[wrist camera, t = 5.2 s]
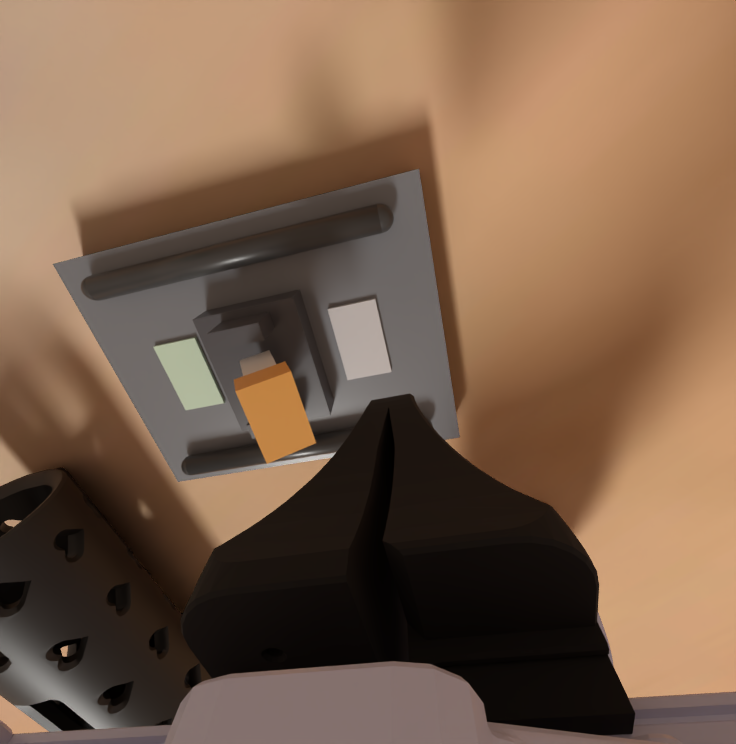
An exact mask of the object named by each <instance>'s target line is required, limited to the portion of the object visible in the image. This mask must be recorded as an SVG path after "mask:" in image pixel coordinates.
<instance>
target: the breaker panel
mask: <svg viewBox="0 0 736 744" xmlns="http://www.w3.org/2000/svg"><path fill="white" fill-rule="evenodd" d="M53 265H54V267H55V269H56V270H57V272H58V274H59V276H60V277H61V279H62V281H63V283H64V284H65V286H66V288H67V290H68V291H69V293H70V295H71V297H72V298H73V300H74V302H75V303H76V305H77V307H78V309H79V310H80V312H81V314H82V316H83V317H84V319H85V321H86V323H87V324H88V326H89V328H90V330H91V331H92V333H93V335H94V337H95V338H96V340H97V342H98V343H99V345H100V347H101V349H102V350H103V352H104V354H105V356H106V357H107V359H108V361H109V363H110V364H111V366H112V368H113V370H114V371H115V373H116V375H117V376H118V378H119V380H120V382H121V383H122V385H123V387H124V389H125V390H126V392H127V394H128V396H129V397H130V399H131V401H132V403H133V404H134V406H135V408H136V409H137V411H138V413H139V415H140V416H141V418H142V420H143V422H144V423H145V425H146V427H147V429H148V430H149V432H150V434H151V436H152V437H153V439H154V441H155V442H156V444H157V446H158V448H159V449H160V451H161V453H162V455H163V456H164V458H165V460H166V462H167V463H168V465H169V467H170V469H171V470H172V472H173V474H174V475H175V477H176V479H177V481H178V482H180V481H186V480H192V479H199V478H205V477H211V476H218V475H224V474H230V473H237V472H243V471H249V470H256V469H262V468H268V467H275V466H281V465H287V464H294V463H300V462H306V461H313V460H319V459H325V458H332V457H333V456H334V454H335V453H336V452H337V451H338V449H339V448H340V447H341V445H342V444H343V443H344V441H345V440H346V439H347V437H348V436H349V434H350V433H351V431H352V430H353V428H354V427H355V425H356V424H357V422H358V421H359V419H360V417H361V416H362V414H363V412H364V411H365V409H366V407H367V406H368V404H369V403H370V401H371V400H376V399H381V398H387V397H393V396H398V395H404V394H409V393H410V394H412V395H413V396H414V398H415V401H416V403H417V405H418V407H419V409H420V410H421V412H422V414H423V415H424V416H425V418H426V419H427V420H428V422H429V423H430V424H431V426H432V427H433V428H434V429H435V430H436V431H437V433H438V434H439V435H440V436H441V437H442V438H443V439H444V440H446V439H452V438H459V437H460V435H459V428H458V422H457V415H456V409H455V402H454V396H453V389H452V382H451V376H450V369H449V363H448V356H447V350H446V343H445V336H444V330H443V323H442V317H441V310H440V304H439V297H438V290H437V284H436V277H435V271H434V264H433V258H432V251H431V244H430V238H429V231H428V225H427V218H426V212H425V205H424V199H423V192H422V185H421V179H420V172H419V169H416V170H412V171H409V172H405V173H401V174H397V175H393V176H389V177H385V178H382V179H378V180H374V181H370V182H366V183H362V184H359V185H355V186H351V187H347V188H343V189H339V190H336V191H332V192H328V193H324V194H320V195H316V196H312V197H309V198H305V199H301V200H297V201H293V202H289V203H286V204H282V205H278V206H274V207H270V208H266V209H263V210H259V211H255V212H251V213H247V214H243V215H239V216H236V217H232V218H228V219H224V220H220V221H216V222H213V223H209V224H205V225H201V226H197V227H193V228H190V229H186V230H182V231H178V232H174V233H170V234H166V235H163V236H159V237H155V238H151V239H147V240H143V241H140V242H136V243H132V244H128V245H124V246H120V247H117V248H113V249H109V250H105V251H101V252H97V253H93V254H90V255H86V256H82V257H78V258H74V259H70V260H67V261H63V262H59V263H55V264H53ZM268 350H269V351H270V353H271V355H272V357H273V358H274V360H275V362H276V364H279V363H282V362H284V361H285V362H286V364H287V365H288V367H289V369H290V370H291V373H292V376H293V378H294V381H295V384H296V387H297V390H298V393H299V395H300V398H301V401H302V404H303V407H304V410H305V412H306V415H307V418H308V421H309V424H310V427H311V429H312V432H313V435H314V438H315V441H316V443H315V444H313V445H310V446H308V447H306V448H303V449H301V450H299V451H296V452H294V453H292V454H289V455H287V456H284V457H282V458H280V459H277V460H275V461H273V462H270V463H268V464H267V463H266V461H265V459H264V456H263V454H262V452H261V449H260V447H259V445H258V442H257V440H256V438H255V435H254V433H253V431H252V429H251V426H250V424H249V422H248V419H247V417H246V415H245V412H244V410H243V408H242V406H241V403H240V401H239V399H238V396H237V394H236V392H235V386H234V379H237V378H240V377H242V376H243V374H242V369H241V365H240V361H239V360H242V359H245V358H248V357H251V356H254V355H257V354H260V353H262V352H265V351H268Z"/></svg>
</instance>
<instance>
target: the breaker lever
mask: <svg viewBox="0 0 736 744" xmlns="http://www.w3.org/2000/svg"><path fill="white" fill-rule="evenodd" d="M239 361H240V365H241V369H242V374H243V376H242V377H240V378H237V379H234V386H235V392H236V394H237V396H238V399H239V401H240V403H241V406H242V408H243V410H244V412H245V415H246V417H247V419H248V422H249V424H250V426H251V429H252V431H253V433H254V435H255V438H256V440H257V442H258V445H259V447H260V449H261V452H262V454H263V456H264V459H265V461H266V463H267V464H268V463H270V462H273V461H275V460H277V459H280V458H282V457H284V456H287V455H289V454H292V453H294V452H296V451H299V450H301V449H303V448H306V447H308V446H310V445H313V444H315V443H316V441H315V438H314V435H313V432H312V429H311V427H310V424H309V421H308V418H307V415H306V412H305V410H304V407H303V404H302V401H301V398H300V395H299V393H298V390H297V387H296V384H295V381H294V378H293V376H292V373H291V370H290V369H289V367H288V365H287V364H286V362H285V361H284V362H282V363H279V364H276V362H275V360H274V358H273V357H272V355H271V353H270V351H269V350H268V351H265V352H262V353H260V354H257V355H254V356H251V357H248V358H245V359H242V360H239Z"/></svg>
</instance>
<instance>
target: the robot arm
mask: <svg viewBox="0 0 736 744" xmlns="http://www.w3.org/2000/svg"><path fill="white" fill-rule="evenodd" d="M598 595H599V582H598V576H597V570H596V569H595V567H594V565H593V563H592V561H591V559H590V557H589V556H588V554H587V552H586V550H585V549H584V548H583V546H582V545H581V543H580V542H579V540H578V539H577V538H576V536H575V535H574V534H573V532H572V531H571V529H570V528H569V527H568V525H567V524H566V523H565V522H564V521H563V519H562V518H561V517H560V516H559V514H558V513H557V512H556V511H555V510H554V509H553V507H551V506H550V505H547V504H545V503H543V502H540V501H538V500H536V499H534V498H531V497H529V496H527V495H524V494H522V493H520V492H517V491H515V490H513V489H511V488H509V487H508V486H506V485H504V484H502V483H500V482H498V481H497V480H495V479H494V478H492V477H491V476H489V475H487V474H486V473H484V472H483V471H481V470H480V469H478V468H477V467H475V466H474V465H473V464H471V463H470V462H469V461H467V460H466V459H465V458H464V457H462V456H461V455H460V454H459V453H458V452H457V451H455V450H454V449H453V448H452V447H451V446H450V445H449V444H448V443H447V442H446V441H445V440H444V439H443V438H442V437H441V436H440V435H439V434H438V433H437V431H436V430H435V429H434V428H433V427H432V426H431V424H430V423H429V422H428V420H427V419H426V418H425V416H424V415H423V414H422V412H421V410H420V409H419V407H418V405H417V403H416V401H415V398H414V396H413V395H412V394H410V393H409V394H404V395H398V396H393V397H387V398H381V399H376V400H371V401H370V403H369V404H368V406H367V407H366V409H365V411H364V412H363V414H362V416H361V417H360V419H359V421H358V422H357V424H356V425H355V427H354V428H353V430H352V431H351V433H350V434H349V436H348V437H347V439H346V440H345V441H344V443H343V444H342V445H341V447H340V448H339V449H338V451H337V452H336V453H335V454H334V456H333V457H332V458H331V459H330V460H329V462H328V463H327V464H326V465H325V466H324V467H323V468H322V469H321V470H320V471H319V472H318V473H317V474H316V475H315V476H314V477H313V478H312V479H311V480H310V481H309V482H308V483H307V484H306V485H305V486H303V487H302V488H301V489H300V490H299V491H298V492H297V493H295V494H294V495H293V496H292V497H291V498H290V499H289V500H287V501H286V502H285V503H283V504H282V505H281V506H280V507H278V508H277V509H276V510H274V511H273V512H272V513H270V514H269V515H267V516H266V517H265V518H263V519H262V520H260V521H259V522H257V523H256V524H254V525H253V526H251V527H250V528H248V529H247V530H245V531H243V532H242V533H240V534H239V535H237V536H235V537H234V538H232V539H230V540H229V541H227V542H225V543H224V544H222V545H220V546H219V547H217V548H215V549H214V550H213V552H212V554H211V556H210V558H209V560H208V562H207V564H206V566H205V567H204V569H203V572H202V574H201V576H200V578H199V580H198V582H197V584H196V586H195V588H194V591H193V593H192V595H191V597H190V599H189V601H188V603H187V605H186V607H185V610H184V612H183V615H182V617H181V620H180V622H181V632H182V635H183V637H184V639H185V641H186V643H187V644H188V646H189V648H190V649H191V651H192V652H193V653H194V655H195V656H196V658H197V659H198V660H199V662H200V663H201V664H202V666H203V667H204V668H205V670H206V671H207V672H208V674H209V675H210V676H211V678H212V679H209V680H205V681H202V682H201V683H199V684H197V685H196V686H194V687H193V688H192V689H191V691H190V692H189V693H188V694H187V695H186V697H185V698H184V699H183V700H182V702H181V703H180V705H179V708H178V710H177V713H176V715H175V718H174V720H173V723H172V725H160V726H143V727H125V728H108V729H91V730H74V731H57V732H40V733H23V734H12V730H11V729H10V728H9V727H8V726H7V725H6V724H5V723H3V722H2V721H1V720H0V744H736V692H722V693H705V694H688V695H671V696H654V697H637V698H628V696H627V694H626V692H625V690H624V688H623V686H622V684H621V682H620V680H619V677H618V675H617V673H616V671H615V669H614V667H613V660H612V655H611V650H610V646H609V643H608V639H607V636H606V633H605V630H604V627H603V624H602V621H601V619H600V616H599V613H598Z"/></svg>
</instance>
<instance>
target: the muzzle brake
mask: <svg viewBox="0 0 736 744" xmlns="http://www.w3.org/2000/svg"><path fill="white" fill-rule="evenodd" d="M6 520H21V522H20V523H19V524H17V525H16V526H15V527H11V526H8V525H6V524H5V523H4V521H6ZM150 575H151V574H150V573H149V571H148V570H147V571H146V570H145V569H144V568H143V567H142V565H141V564H140V563H139V562H138V561H137V559H136V558H135V557H134V556H133V552H132V551H131V549H130V548H129V547H128V546H127V545H126V543H125V542H124V541H123V540H122V538H121V537H120V536H119V535H118V533H117V532H116V531H115V530H114V529H113V527H112V526H111V525H110V524H109V522H108V521H107V520H106V519H105V518H104V516H103V515H102V514H101V513H100V511H99V510H98V509H97V508H96V507H95V505H94V504H93V503H92V502H91V500H90V499H89V498H88V497H87V495H86V494H85V493H84V492H83V491H82V489H81V488H80V487H79V486H78V484H77V483H76V482H75V481H74V480H73V478H72V477H71V476H70V475H69V473H68V472H67V471H66V470H65V469H64V468H63V467H62V468H57V469H49V470H45V471H41V472H37V473H33V474H29V475H26V476H24V477H21V478H18V479H16V480H13V481H11V482H9V483H7V484H5V485H2V486H0V695H1V696H2V697H3V698H5V699H6V700H7V701H9V702H10V703H11V704H13V705H14V706H16V707H17V708H18V709H20V710H21V711H22V712H24V713H25V714H26V715H28V716H29V717H30V718H32V719H33V720H34V721H36V722H37V723H38V724H40V725H41V726H42V727H44V728H45V729H46V730H48V731H49V732H57V731H74V730H91V729H108V728H125V727H143V726H160V725H172V723H173V720H174V718H175V715H176V713H177V710H178V708H179V705H180V703H181V702H182V700H183V699H184V698H185V697H186V695H187V694H188V693H189V692H190V691H191V689H192V688H193V687H194V686H196V685H197V684H199V683H201V682H202V681H205V680H209V679H212V678H211V676H210V675H209V674H208V672H207V671H206V670H205V668H204V667H203V666H202V664H201V663H200V662H199V660H198V659H197V658H196V656H195V655H194V653H193V652H192V651H191V649H190V648H189V646H188V644H187V643H186V641H185V639H184V637H183V635H182V632H181V622H180V620H181V617H182V614H181V613H180V612H179V611H178V609H177V608H176V607H175V606H174V604H173V603H172V602H171V601H170V600H169V598H168V597H167V596H166V595H165V594H164V593H163V591H162V590H161V589H160V587H159V586H158V585H157V584H156V583H155V581H154V580H153V579H152V578H151V576H150ZM67 645H68V652H67V657H63V656H62V653H61V650H60V648H62V647H63V646H67Z"/></svg>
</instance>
